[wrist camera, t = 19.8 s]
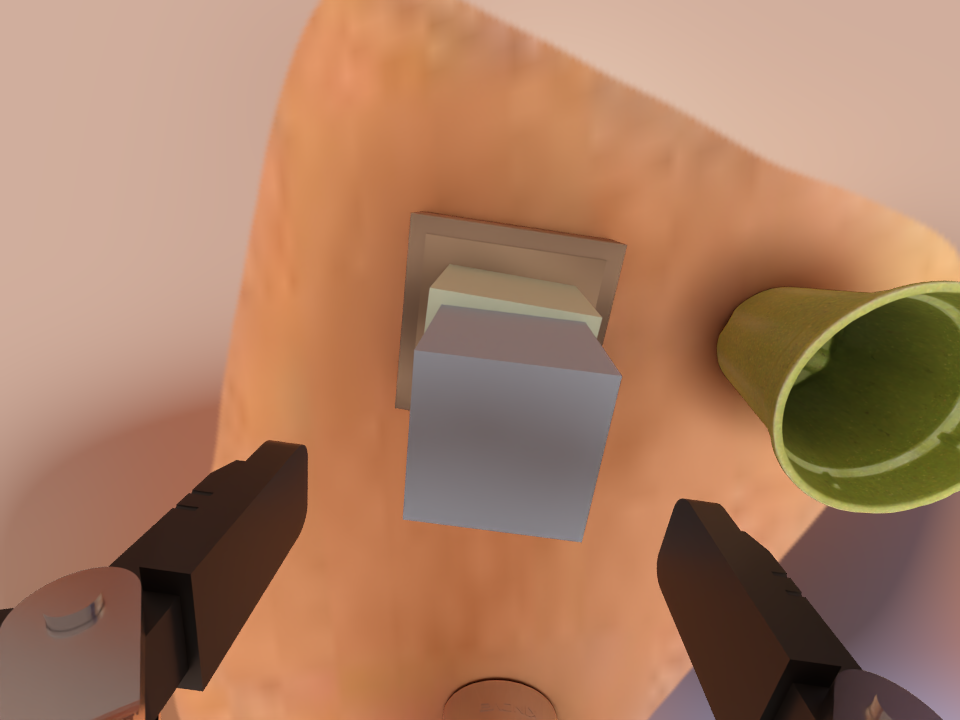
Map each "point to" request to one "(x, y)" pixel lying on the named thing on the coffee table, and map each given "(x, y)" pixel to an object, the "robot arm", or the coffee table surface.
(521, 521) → the slate block
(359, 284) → the coffee table surface
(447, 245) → the walnut square pad
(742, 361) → the plant pot
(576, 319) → the sage block
